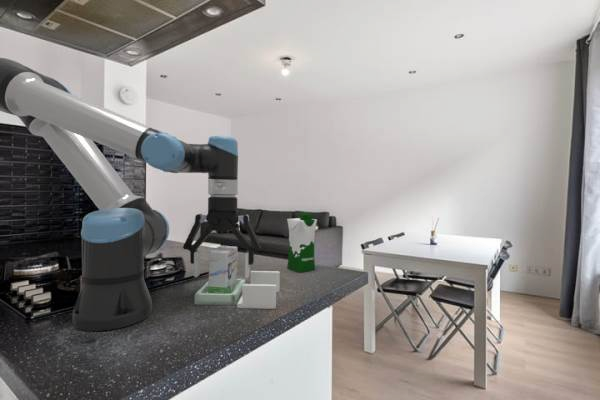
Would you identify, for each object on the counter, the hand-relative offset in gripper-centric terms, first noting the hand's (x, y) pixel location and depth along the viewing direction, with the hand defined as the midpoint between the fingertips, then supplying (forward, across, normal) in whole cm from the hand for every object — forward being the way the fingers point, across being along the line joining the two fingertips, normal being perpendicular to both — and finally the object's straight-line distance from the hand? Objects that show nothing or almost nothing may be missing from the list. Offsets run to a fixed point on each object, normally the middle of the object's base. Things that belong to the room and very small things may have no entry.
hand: (222, 276), depth 85 cm
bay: (+5, +11, -2) cm, 12 cm away
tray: (+5, 0, 0) cm, 5 cm away
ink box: (+5, 0, 0) cm, 5 cm away
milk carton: (+5, +21, +29) cm, 36 cm away
